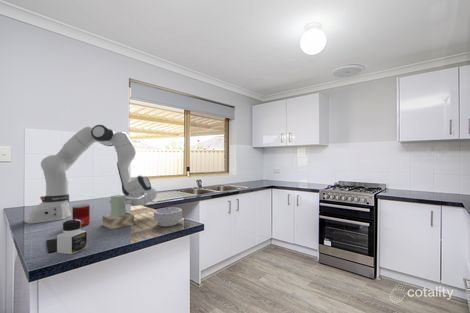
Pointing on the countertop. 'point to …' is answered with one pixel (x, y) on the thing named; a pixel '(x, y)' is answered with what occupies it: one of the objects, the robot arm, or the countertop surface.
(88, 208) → the canned food
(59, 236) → the medicine bottle
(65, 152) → the robot arm
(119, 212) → the sage green post
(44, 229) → the countertop surface
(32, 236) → the countertop surface
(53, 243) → the cell phone
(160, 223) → the paper bowls
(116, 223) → the wooden base
